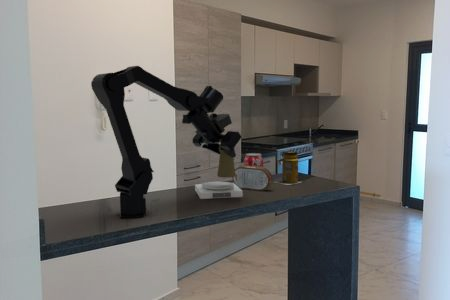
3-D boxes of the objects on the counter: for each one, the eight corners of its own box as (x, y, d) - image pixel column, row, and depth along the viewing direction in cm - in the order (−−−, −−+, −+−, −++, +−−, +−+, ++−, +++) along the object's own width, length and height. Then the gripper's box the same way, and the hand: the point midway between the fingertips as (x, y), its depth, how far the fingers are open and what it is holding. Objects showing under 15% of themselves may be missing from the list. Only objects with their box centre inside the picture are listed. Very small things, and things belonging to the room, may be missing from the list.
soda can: (266, 185, 154) (266, 153, 152) (257, 188, 148) (257, 155, 146) (249, 183, 157) (249, 152, 156) (240, 186, 151) (240, 154, 150)
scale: (200, 199, 132) (200, 190, 132) (195, 190, 146) (195, 181, 146) (242, 197, 135) (242, 188, 135) (233, 188, 149) (233, 180, 149)
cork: (236, 177, 134) (236, 143, 132) (217, 177, 133) (217, 143, 132) (235, 174, 140) (235, 142, 138) (217, 174, 139) (217, 142, 138)
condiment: (302, 182, 160) (303, 151, 158) (289, 185, 154) (289, 153, 152) (287, 180, 165) (287, 150, 163) (274, 182, 159) (274, 152, 158)
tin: (272, 190, 145) (273, 167, 144) (269, 192, 142) (269, 168, 141) (235, 186, 152) (234, 164, 151) (231, 188, 149) (231, 165, 148)
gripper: (237, 105, 124) (261, 139, 133) (199, 105, 138) (223, 136, 147) (217, 132, 120) (244, 166, 129) (180, 129, 134) (206, 160, 142)
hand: (229, 155), depth 137 cm, fingers closed on cork, 5 cm apart
